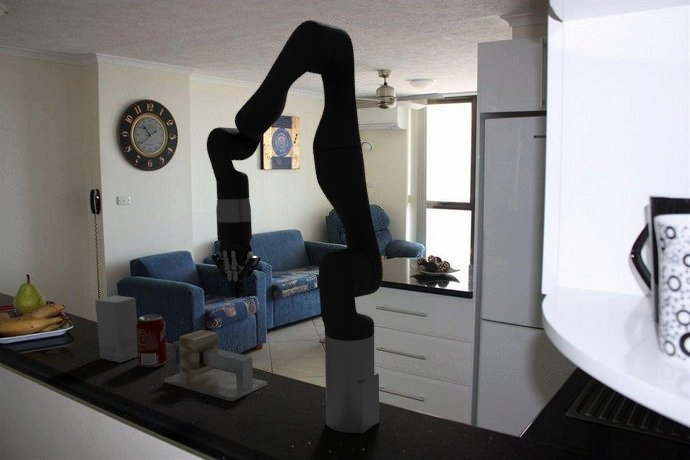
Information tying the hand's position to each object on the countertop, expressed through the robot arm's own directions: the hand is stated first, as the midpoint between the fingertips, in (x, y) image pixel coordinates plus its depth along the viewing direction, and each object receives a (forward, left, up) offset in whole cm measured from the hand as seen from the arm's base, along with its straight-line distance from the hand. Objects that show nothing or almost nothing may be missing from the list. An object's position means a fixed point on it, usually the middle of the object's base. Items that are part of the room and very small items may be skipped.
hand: (237, 296), depth 133 cm
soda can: (+27, +3, -20) cm, 33 cm away
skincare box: (+39, +4, -20) cm, 44 cm away
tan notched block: (+9, +4, -17) cm, 20 cm away
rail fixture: (+4, +4, -20) cm, 20 cm away
